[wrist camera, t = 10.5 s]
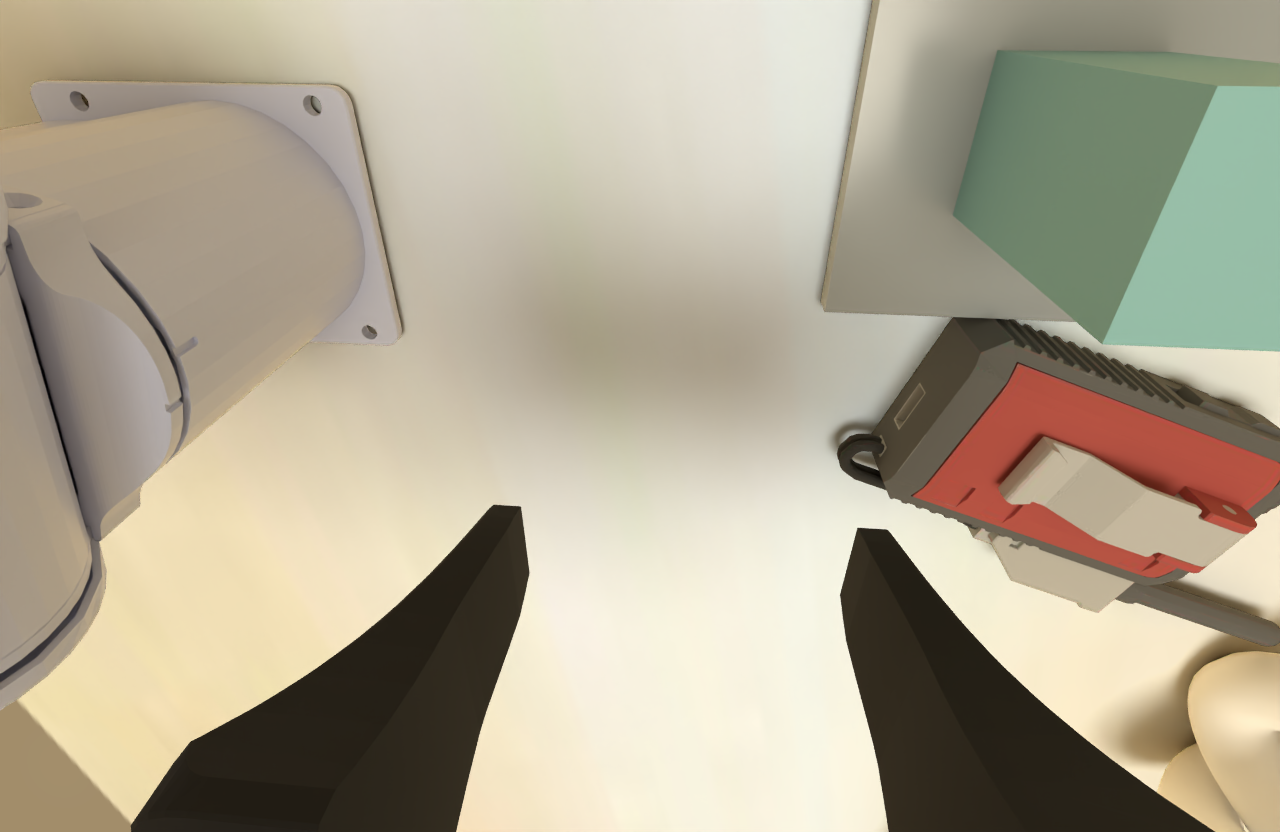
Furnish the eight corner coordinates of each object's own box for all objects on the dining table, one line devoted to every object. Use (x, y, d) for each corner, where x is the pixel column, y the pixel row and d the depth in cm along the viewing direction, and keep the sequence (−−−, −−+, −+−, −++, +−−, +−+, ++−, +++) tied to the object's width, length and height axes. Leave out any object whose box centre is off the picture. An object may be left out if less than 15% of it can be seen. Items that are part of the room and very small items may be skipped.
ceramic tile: (820, 301, 20) (824, 311, 20) (889, -100, 15) (898, -105, 14) (1150, 314, 20) (1165, 325, 19) (1351, -103, 14) (1382, -108, 13)
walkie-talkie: (800, 478, 25) (1228, 624, 27) (817, 562, 21) (1311, 723, 23) (931, 277, 20) (1438, 475, 22) (983, 340, 16) (1583, 570, 19)
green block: (952, 215, 18) (1102, 344, 11) (997, 50, 15) (1217, 85, 9) (1103, 219, 17) (1349, 354, 11) (1169, 52, 15) (1533, 90, 9)
